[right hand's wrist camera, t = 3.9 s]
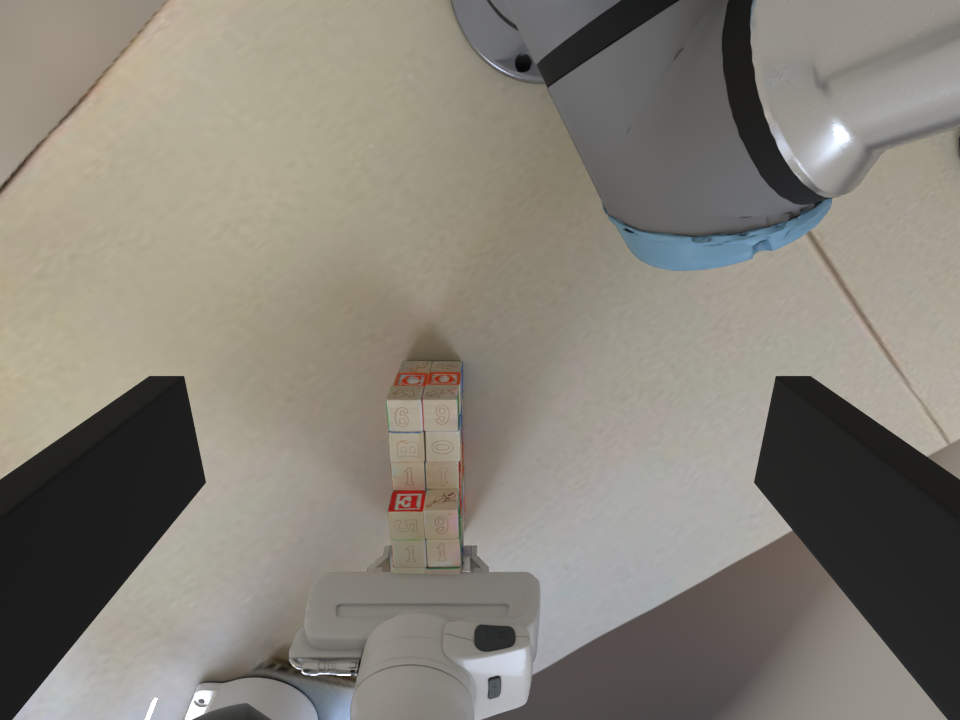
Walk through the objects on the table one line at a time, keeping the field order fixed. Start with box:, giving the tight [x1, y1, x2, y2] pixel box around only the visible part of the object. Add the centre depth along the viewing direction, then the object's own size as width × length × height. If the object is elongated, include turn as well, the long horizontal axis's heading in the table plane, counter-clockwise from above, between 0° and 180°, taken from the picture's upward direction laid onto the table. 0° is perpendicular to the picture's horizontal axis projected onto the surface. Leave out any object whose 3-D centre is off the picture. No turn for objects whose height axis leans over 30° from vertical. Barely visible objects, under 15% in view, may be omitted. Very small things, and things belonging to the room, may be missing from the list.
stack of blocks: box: [386, 361, 464, 575], centre depth 54 cm, size 21×6×12 cm, turn 0°
